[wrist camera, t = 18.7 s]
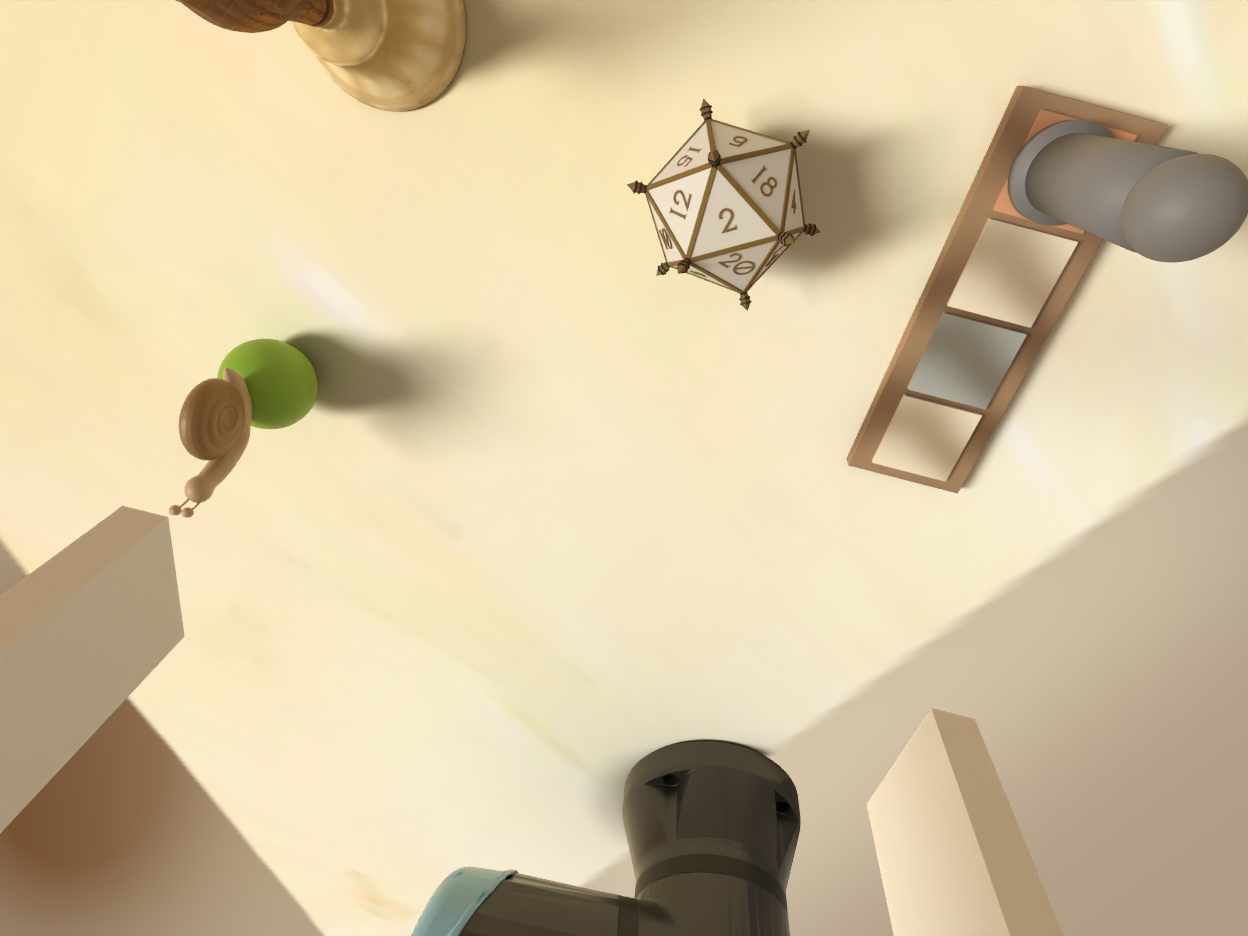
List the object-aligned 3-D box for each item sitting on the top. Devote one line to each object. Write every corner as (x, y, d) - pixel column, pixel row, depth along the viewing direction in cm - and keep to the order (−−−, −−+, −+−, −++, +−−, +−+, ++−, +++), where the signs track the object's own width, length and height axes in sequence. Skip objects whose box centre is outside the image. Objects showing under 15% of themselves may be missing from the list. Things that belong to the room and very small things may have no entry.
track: (953, 486, 44) (959, 495, 43) (846, 459, 43) (849, 467, 42) (1158, 123, 33) (1171, 125, 32) (1017, 85, 33) (1026, 86, 32)
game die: (758, 180, 39) (890, 236, 33) (657, 291, 40) (766, 367, 34) (685, 47, 33) (830, 83, 26) (567, 182, 34) (679, 250, 27)
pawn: (1077, 233, 35) (1233, 302, 24) (989, 209, 35) (1108, 268, 24) (1133, 134, 32) (1331, 163, 22) (1038, 108, 32) (1193, 126, 22)
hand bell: (355, -138, 31) (78, -301, 18) (499, 8, 34) (353, -37, 20) (274, 25, 35) (-10, -6, 21) (409, 147, 37) (231, 191, 23)
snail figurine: (258, 412, 46) (128, 509, 36) (245, 320, 43) (98, 398, 33) (337, 426, 46) (229, 528, 36) (330, 335, 43) (209, 417, 33)
